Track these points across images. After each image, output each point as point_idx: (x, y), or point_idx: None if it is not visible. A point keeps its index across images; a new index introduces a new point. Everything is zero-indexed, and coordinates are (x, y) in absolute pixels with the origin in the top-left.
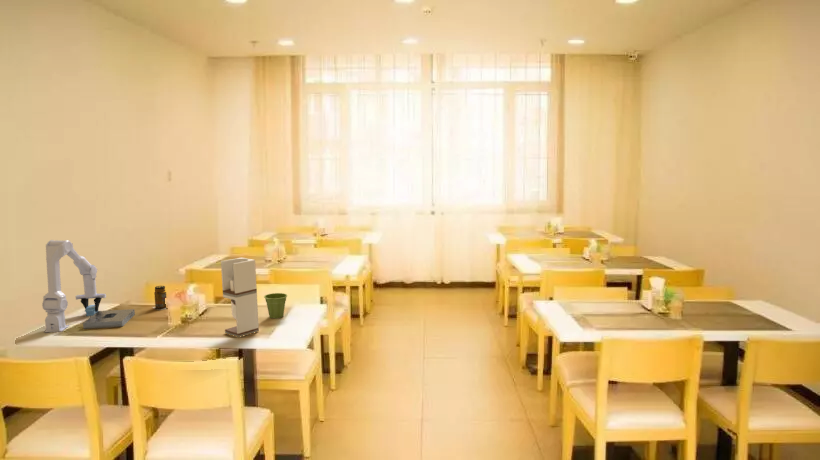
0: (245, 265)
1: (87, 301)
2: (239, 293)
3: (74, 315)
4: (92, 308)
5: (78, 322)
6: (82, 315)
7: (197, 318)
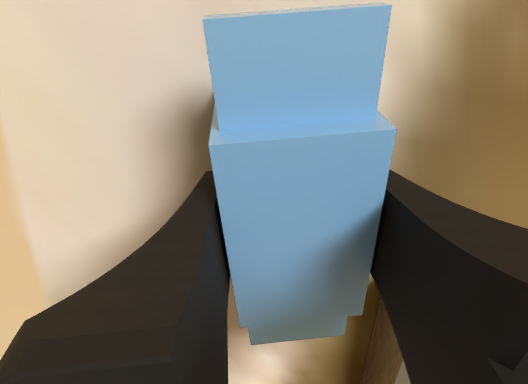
0: None
1: (209, 329)
2: None
3: (51, 201)
4: (339, 306)
5: (260, 374)
6: (171, 210)
7: None
